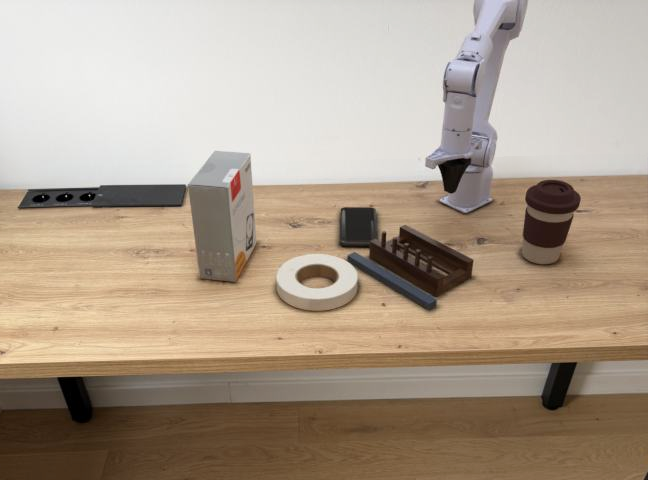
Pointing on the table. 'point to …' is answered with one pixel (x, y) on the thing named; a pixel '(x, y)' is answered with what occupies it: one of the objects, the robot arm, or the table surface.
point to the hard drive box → (223, 215)
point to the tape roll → (317, 297)
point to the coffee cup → (548, 220)
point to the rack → (426, 251)
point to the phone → (357, 226)
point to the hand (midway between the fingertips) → (449, 191)
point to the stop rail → (392, 281)
